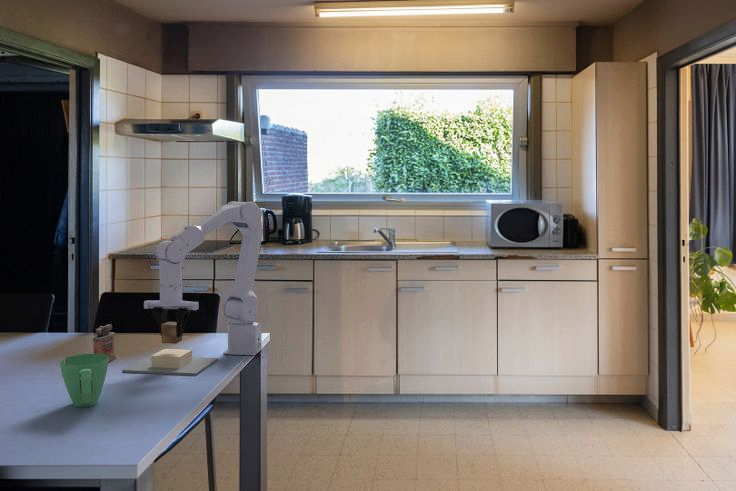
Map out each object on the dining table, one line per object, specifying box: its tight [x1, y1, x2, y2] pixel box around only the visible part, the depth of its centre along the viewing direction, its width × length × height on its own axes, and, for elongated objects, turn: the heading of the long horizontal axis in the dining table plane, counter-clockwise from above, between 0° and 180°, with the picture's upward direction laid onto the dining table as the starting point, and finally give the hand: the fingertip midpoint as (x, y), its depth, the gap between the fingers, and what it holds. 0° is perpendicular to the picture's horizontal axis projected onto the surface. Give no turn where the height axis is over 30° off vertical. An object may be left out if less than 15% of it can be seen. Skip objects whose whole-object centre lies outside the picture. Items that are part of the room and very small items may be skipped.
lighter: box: [92, 323, 116, 364], centre depth 182 cm, size 8×3×10 cm, turn 168°
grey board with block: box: [121, 348, 219, 377], centre depth 178 cm, size 20×16×4 cm
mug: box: [59, 353, 109, 408], centre depth 144 cm, size 15×10×10 cm
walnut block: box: [161, 321, 183, 345], centre depth 178 cm, size 4×4×5 cm
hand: (171, 335), depth 178 cm, fingers closed on walnut block, 4 cm apart
